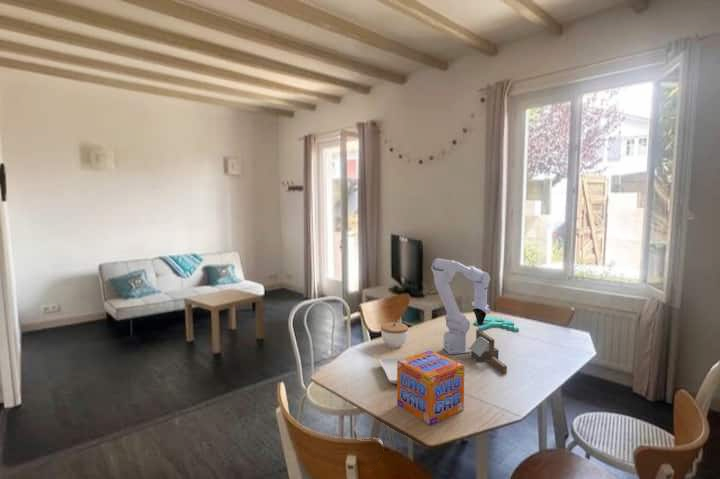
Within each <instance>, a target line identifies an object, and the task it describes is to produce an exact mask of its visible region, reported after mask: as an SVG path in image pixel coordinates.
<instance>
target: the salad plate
mask: <svg viewBox="0 0 720 479" xmlns="http://www.w3.org/2000/svg"><path fill="white" fill-rule="evenodd" d="M408 357H411V356H400V357H399V356H397V357H385V358H384V357H383V358H379V359H377V362H378V364H379V365H380V366H381V368H382V369H383V371H384V373H385V375H386V378H387V379H388V381H389V383H392V384H395V385H397V361H398V360H402V359H405V358H408Z"/></svg>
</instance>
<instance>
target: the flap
mask: <svg viewBox="0 0 720 479" xmlns="http://www.w3.org/2000/svg"><path fill="white" fill-rule="evenodd" d="M488 347H489V342H488V341H487V340H485V339H484V338H482V337H480V336H479V337H478V338H477V339H476V338H475V341H474V342H473V343H472V345H470V347H469V350H471V351H473V352H474V353H476V354H477V355H478V356H479V357H480V356H481V355H482V354H483V353H484V351H485V350H486V349H487V348H488Z"/></svg>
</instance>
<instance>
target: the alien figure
mask: <svg viewBox="0 0 720 479" xmlns="http://www.w3.org/2000/svg"><path fill="white" fill-rule="evenodd" d="M474 325H475V326H476V327H478V328H477V330H481V331H482V332H484V331H485V330H487V331H488V329H487V328H489V329H491V328H500V329H501V328H502V329H504V330H508V331H513V332H514V333H519V332H520V329H519V326H515V323H514V322H513V320H508V319H503V318H502V317H501V318H500V317H497V316H485V319H484V322H483V325H478V324H477V320H476V319H474Z"/></svg>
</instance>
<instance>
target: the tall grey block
mask: <svg viewBox="0 0 720 479" xmlns="http://www.w3.org/2000/svg"><path fill="white" fill-rule="evenodd" d="M499 351H500V350H499V349H497V348H496V347H495V346H494V357H495V358H497V359H498V360H499ZM470 357H471V358H472V359H474V361H476V362H481V361H482V362H483V361H489V346H488V348H487V349H486V350H485V351H484V353H483V354H482V355H481V356H480V357H479V356H478V355H477V354H476V353H474V352H473V351H472V350H471V356H470Z"/></svg>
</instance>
